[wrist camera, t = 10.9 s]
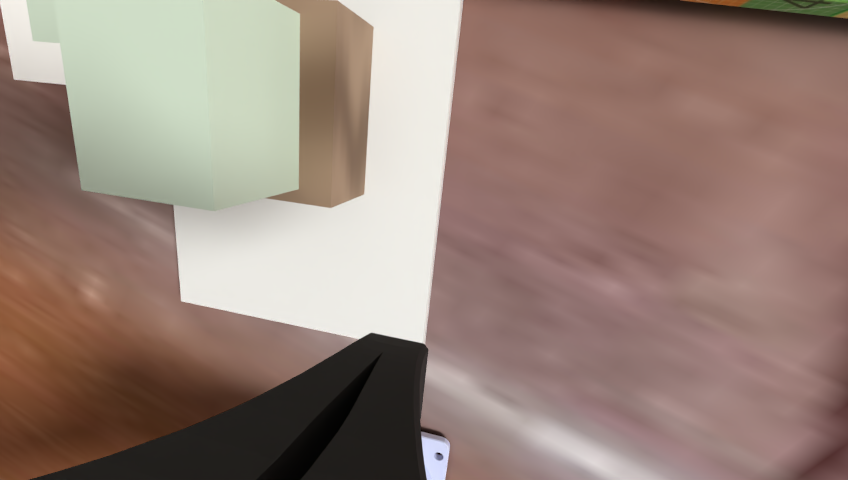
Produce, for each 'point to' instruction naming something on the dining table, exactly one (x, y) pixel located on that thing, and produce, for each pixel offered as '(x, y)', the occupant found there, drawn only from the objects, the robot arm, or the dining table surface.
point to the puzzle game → (791, 6)
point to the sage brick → (183, 98)
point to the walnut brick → (331, 103)
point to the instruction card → (33, 40)
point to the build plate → (348, 204)
